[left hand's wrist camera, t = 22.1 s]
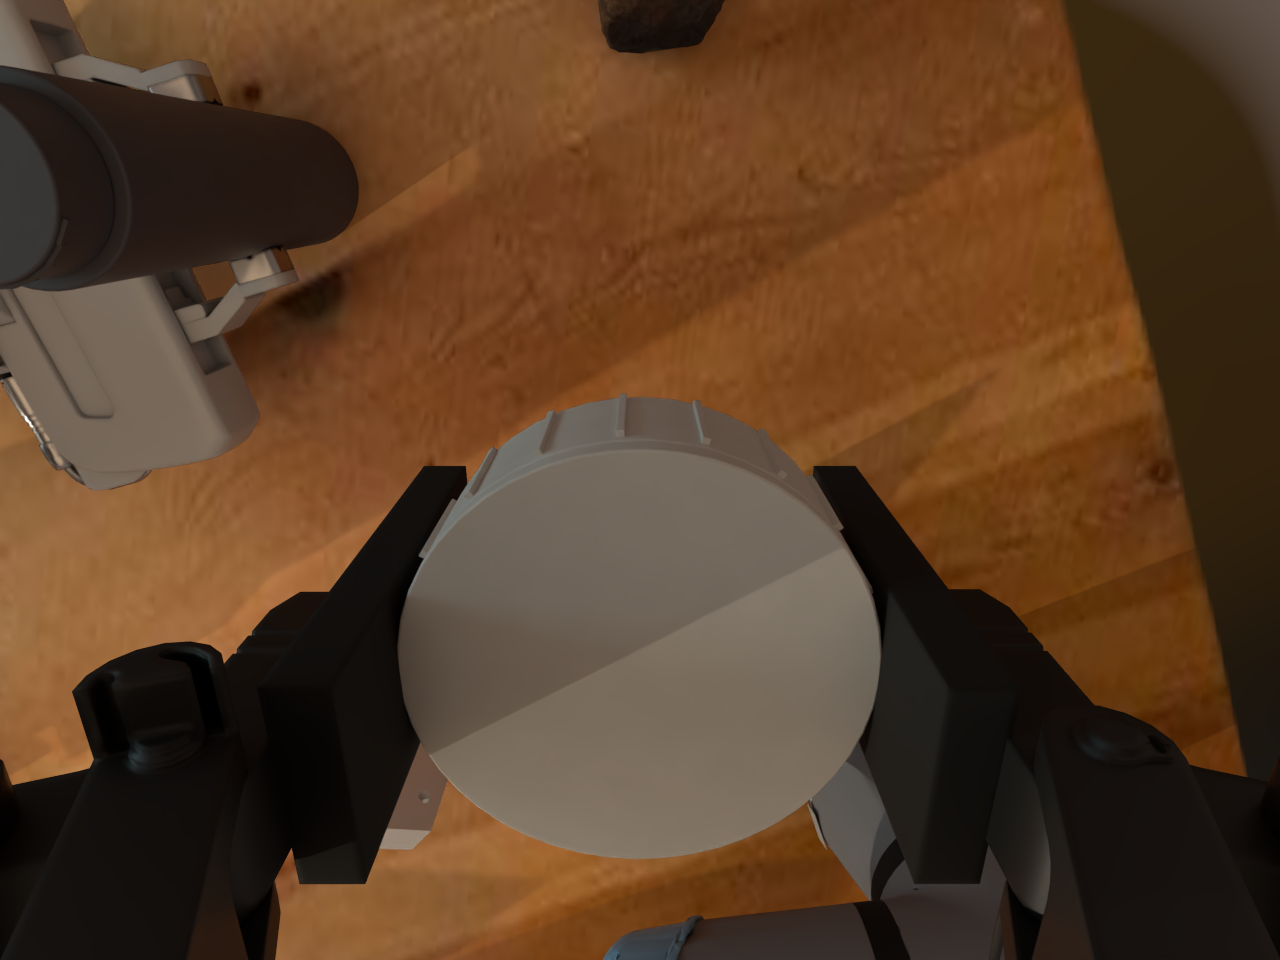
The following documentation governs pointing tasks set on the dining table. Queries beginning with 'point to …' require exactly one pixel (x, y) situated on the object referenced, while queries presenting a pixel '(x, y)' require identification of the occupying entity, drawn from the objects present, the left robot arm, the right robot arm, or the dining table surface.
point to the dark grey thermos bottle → (153, 183)
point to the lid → (639, 633)
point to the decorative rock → (656, 23)
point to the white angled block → (416, 804)
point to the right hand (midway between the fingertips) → (248, 175)
